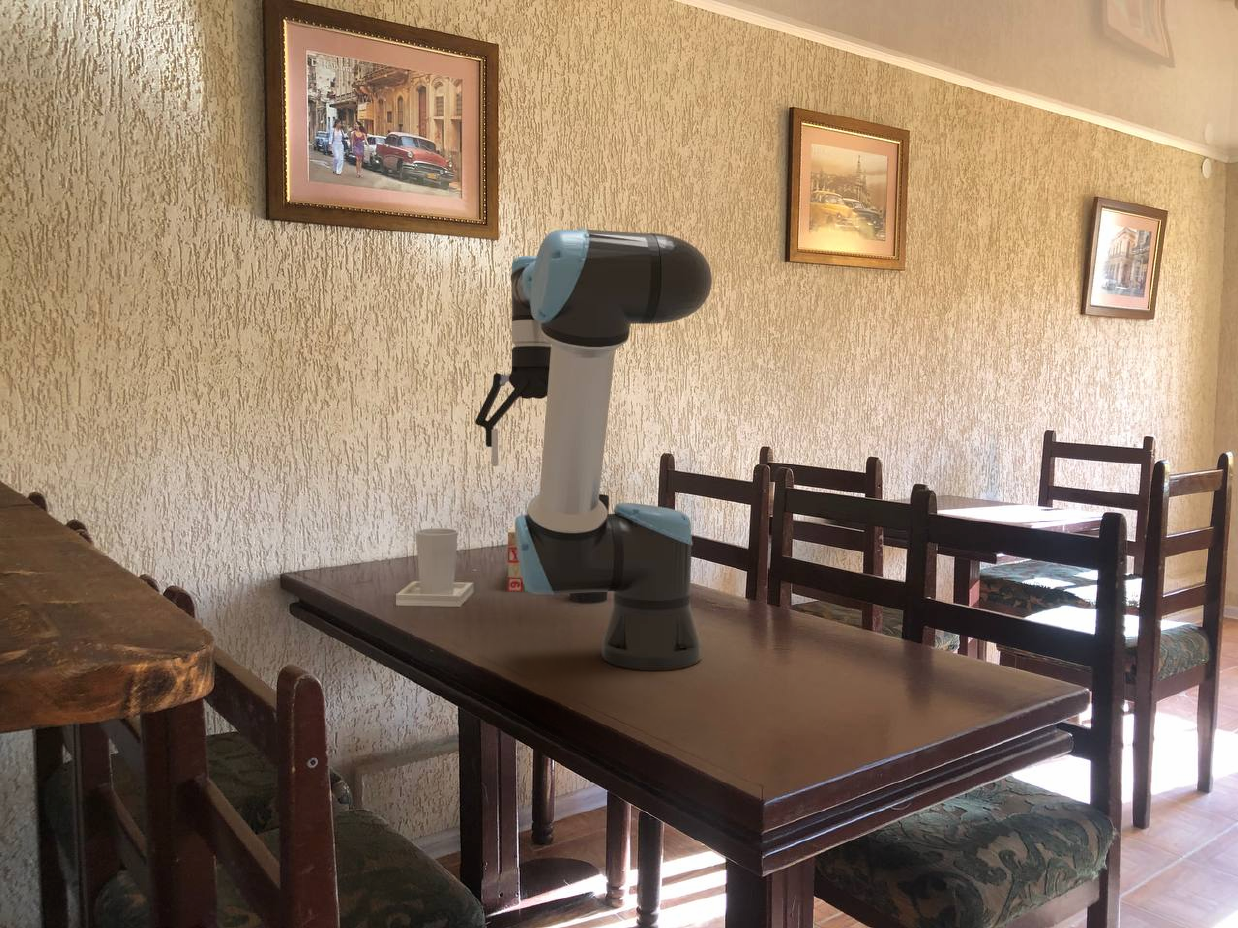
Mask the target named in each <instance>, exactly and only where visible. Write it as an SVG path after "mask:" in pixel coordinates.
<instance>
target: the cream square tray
mask: <svg viewBox="0 0 1238 928" xmlns="http://www.w3.org/2000/svg"><path fill="white" fill-rule="evenodd" d="M473 594H474V582H463V581H462V582H455V581H454V594H453V595H436V594H420V580H419V581H418V580H417V581H412V582H410V583H409V584H408V585H406V586H405V587H404V588H403V589H401V590H400V591H399V592H398V593H396V594H395V606H403V607H404V606H405V607H406V606H408V607H409V606H410V607H445V608H446V607H448V608H461V607H462V605H464V603H465V602H466V601H467V600H468V599H469V598H470V597H471V596H472V595H473Z"/></svg>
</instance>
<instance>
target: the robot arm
mask: <svg viewBox="0 0 1238 928" xmlns="http://www.w3.org/2000/svg"><path fill="white" fill-rule="evenodd" d="M509 278H510V281H511V284H510V285H511V286H510V287H511V322H510V323H511V325H510V326H511V344H513V345H514V346H513V347H512V348H511V371H510V374H509V375H508V374H501V373H500V372H499V373H498V372H497V373H494V374H493V377H492V378H493V380H492V386H491V388H490V390H489V392H488V394H487V396H486V398H485V400H484V402H483V404H482V406H481V409H480V410H479V412H478V415H477V416H476V418H475V421H474V423H475V424H476V426H479V427H481V428H484V430H485V445H486V446H485V447H486V448H491V467H498V466H499V429H498V428H494V427H496V425H497V424H498V423H499V421H500V420H501V419H502V418H503V417H504V416H505V414H506V413H507V412H508V411H509V410H510V408H511V407H512V406H513V405H514V404H515V402H517V400H518V399H519V398H522V399H524V400H529V399H532V398H533V399H536V400H542V399H544V398H545V399H546V407H545V421H544V432H543V447H542V455H541V456H542V457H541V458H542V459H541V469H540V481H539V484H540V485H539V493H538V494H537V495H535V496H534V497H532V498H531V499H530V501H529V503H528V505H527V510H526V511H527V512H526V513H527V514H522V515H519V516H516V518H515V535H516V545H517V553H518V560H519V566H520V572H521V577H522V581H523V584H524V587H525V588H526V590H527V591H529V593H530V594H534V595H551V596H556V595H560V594H561V595H562V594H570V593H585V592H607V593H608V592H613V594H614V595H613V608H612V611H611V614H610V618H609V621H608V623H607V625H606V626H607V627H606V630H605V633H604V636H603V639H602V642H601V656H602V658H603V660H604V661H606V662H607V663H609V664H612V665H614V666H617V667H622V668H626V669H630V670H633V669H634V670H641V671H668V670H677V669H682V668H686V667H691V666H693V665H695V664H697V663H699V661H700V660H701V658H702V655H701V654H702V653H701V652H702V644H701V639H700V636H699V633H698V630H697V626H696V623H695V620H694V617H693V614H692V609H691V586H692V585H691V581H692V579H691V578H692V576H691V574H692V572H691V571H692V546H693V540H692V539H693V538H692V523H691V520H690V518H689V516H688V515H687V514H685V513H684V512H683V511H679V510H675V509H672V508H668V507H664V506H658V505H657V506H656V505H650V504H644V503H636V502H635V503H632V502H618V503H617V504H615V507H614V509H613V512H614V513H609V514H607V509H606V507H605V505H604V504H603V503H602V502H601V501H600V500H599V494H600V491H601V490H600V489H601V483H602V482H601V480H602V471H603V464H604V454H605V447H606V439H607V437H606V436H607V428H608V420H609V419H608V418H609V412H610V411H609V409H610V401H611V392H612V385H613V383H612V382H613V374H614V366H615V355H616V351H617V349H619V348H620V347H622V346H623V345H624V344H626V343H627V342H628V340H629V337H630V327H631V325H632V324H633V325H636V324H639V325H640V324H641V325H645V324H646V325H648V324H651V325H653V324H654V325H655V324H656V325H657V324H665V323H671V322H675V321H679V320H680V321H681V320H682V319H684V318H687V317H689V316H692V315H693V314H695V313H696V312H697V311H698V310H700V308H701V307H703V305H704V304H705V303H706V301H708V300H707V299H708V297H709V295H710V293H711V289H712V283H713V278H712V271H711V267H710V264H709V263H708V261H707V259H706V257H705V256H704V254H703V253H702V252H701V251H700V250H699V249H698V248H697V247H695V246H694V245H693V244H691V243H690V242H689V241H688V242H687V241H686V240H684V239H681V238H679V237H677V236H673V235H670V234H665V233H658V232H649V233H646V232H643V233H642V232H632V231H631V232H628V231H615V230H614V231H613V230H601V229H600V230H598V229H597V230H596V229H585V227H584V228H578V229H557V230H556V229H555V230H552V231H551V232H549V233H548V234H547V235H546V236H545V237H544V239H543V240H542V242H541V244H540V246H539V248H538V251H537V254H536V255H524V256H520V257H519V256H518V257H515V258H514V259H512V262H511V274H510V277H509ZM507 382H509V384H510V385H511V386H512V388H513V390H512V391H511V393H510V394H509V395H508V396H507V398H506V399H505V400H504V402H502V404H501V405H500V406H499V407H498V408H497V410H495V412H494V413H493V414H492V415H491V417H490V418H489V419H488V420H487V417H488V415H489V413H490V411H491V409H492V407H493V406H494V403H495V401H496V399H497V397H498V395H499V393H500V391H501V389H502V387H504V386H506V384H507Z"/></svg>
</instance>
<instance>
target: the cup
mask: <svg viewBox="0 0 1238 928" xmlns="http://www.w3.org/2000/svg"><path fill="white" fill-rule="evenodd" d="M458 535H459V530H457V529H454V528H453V529H452V528H446V527H441V528H440V527H437V528H435V527H434V528H423V529H418V530H416V531H415V544H416V552H417V553H416V554H417V566H418V568H417V569H418V578H419V579H418V580H419V581H420V594H436V595H453V594H454V582H455V576H456V575H455V574H456V573H455V572H456V562H457V561H456V560H457V559H456V558H457V546H458Z"/></svg>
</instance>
